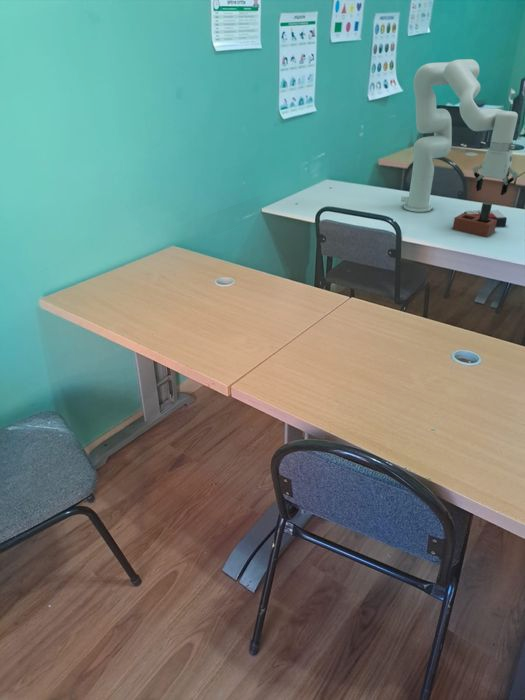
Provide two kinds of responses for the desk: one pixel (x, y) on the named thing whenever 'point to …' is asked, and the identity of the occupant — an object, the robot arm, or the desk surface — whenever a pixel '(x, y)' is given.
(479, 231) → the hollow brick
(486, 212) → the peg
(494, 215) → the calculator
